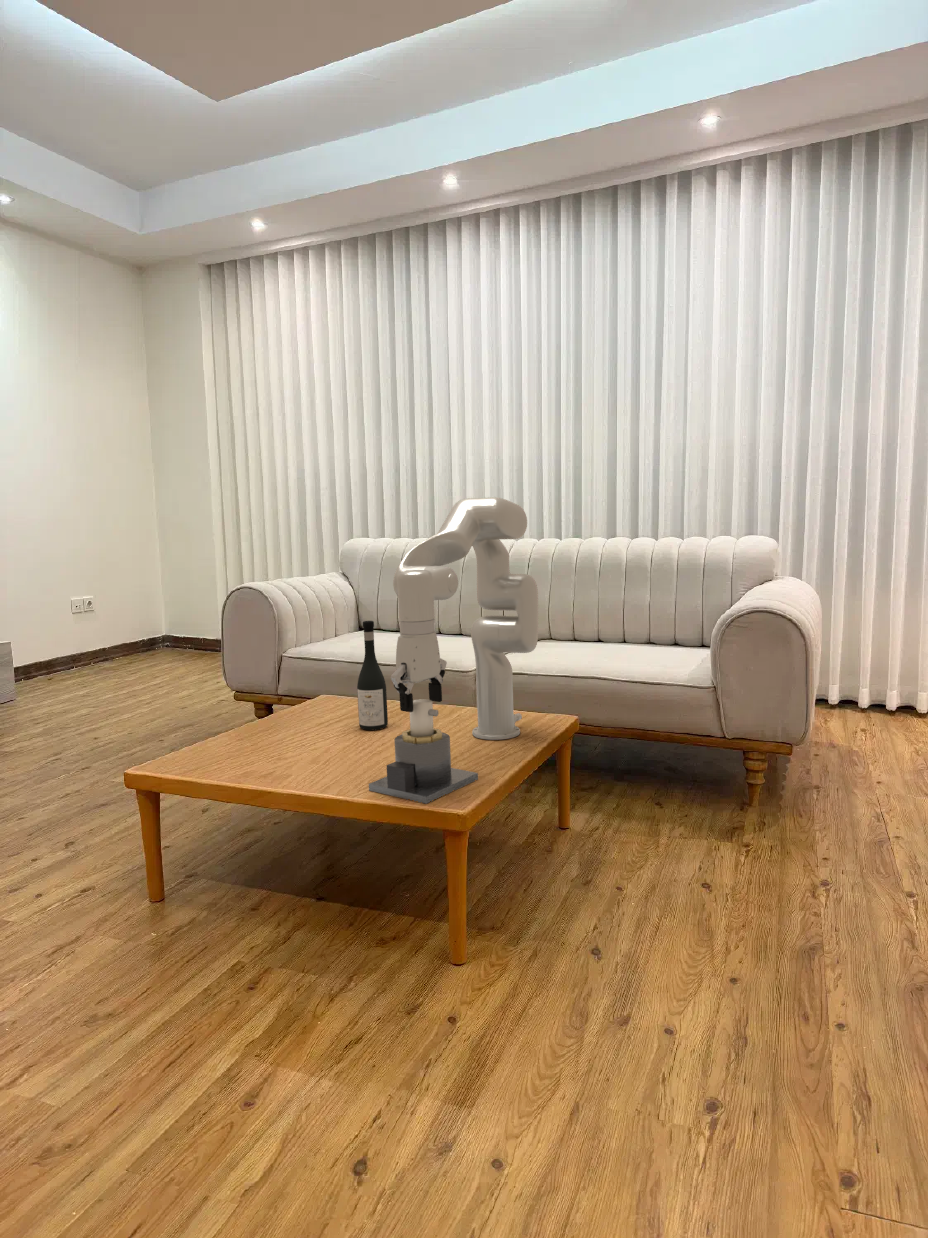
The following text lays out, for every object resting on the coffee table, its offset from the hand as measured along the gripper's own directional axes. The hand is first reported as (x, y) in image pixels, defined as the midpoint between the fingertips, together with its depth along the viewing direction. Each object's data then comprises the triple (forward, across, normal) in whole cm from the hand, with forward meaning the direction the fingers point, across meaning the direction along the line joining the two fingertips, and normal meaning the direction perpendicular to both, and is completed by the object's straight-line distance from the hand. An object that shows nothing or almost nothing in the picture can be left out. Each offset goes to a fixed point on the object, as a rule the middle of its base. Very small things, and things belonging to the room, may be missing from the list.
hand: (421, 706), depth 181 cm
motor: (+18, +1, 0) cm, 18 cm away
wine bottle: (+18, -30, -44) cm, 56 cm away
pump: (+7, 0, 0) cm, 7 cm away
